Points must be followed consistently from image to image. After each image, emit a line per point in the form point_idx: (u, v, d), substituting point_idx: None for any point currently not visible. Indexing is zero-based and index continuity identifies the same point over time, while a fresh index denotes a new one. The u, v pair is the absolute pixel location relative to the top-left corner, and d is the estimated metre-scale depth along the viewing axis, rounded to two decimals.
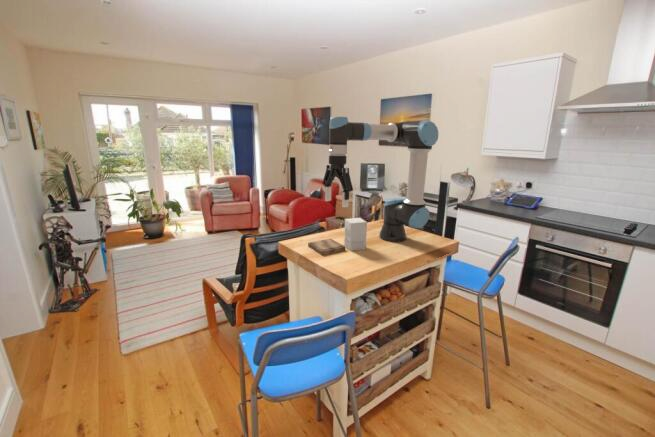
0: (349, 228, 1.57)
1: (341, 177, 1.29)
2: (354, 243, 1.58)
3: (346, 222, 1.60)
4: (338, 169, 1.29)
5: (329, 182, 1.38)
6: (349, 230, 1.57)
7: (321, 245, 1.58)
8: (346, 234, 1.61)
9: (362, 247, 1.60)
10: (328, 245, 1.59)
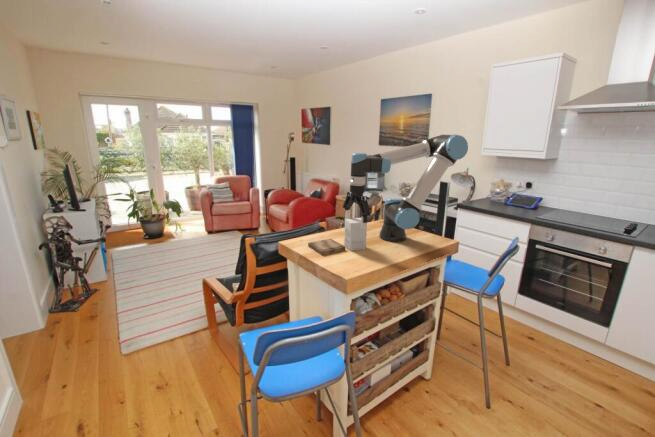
0: (349, 228, 1.57)
1: (360, 203, 1.53)
2: (354, 243, 1.58)
3: (346, 222, 1.60)
4: (358, 197, 1.53)
5: (349, 206, 1.62)
6: (349, 230, 1.57)
7: (321, 245, 1.58)
8: (346, 234, 1.61)
9: (362, 247, 1.60)
10: (328, 245, 1.59)
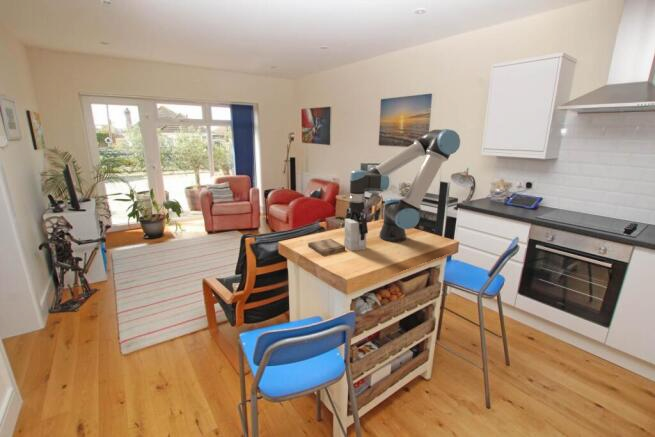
0: (349, 228, 1.57)
1: (359, 220, 1.56)
2: (354, 242, 1.58)
3: (346, 222, 1.60)
4: (357, 213, 1.56)
5: None
6: (349, 230, 1.57)
7: (321, 245, 1.58)
8: (346, 234, 1.61)
9: (362, 247, 1.60)
10: (328, 245, 1.59)
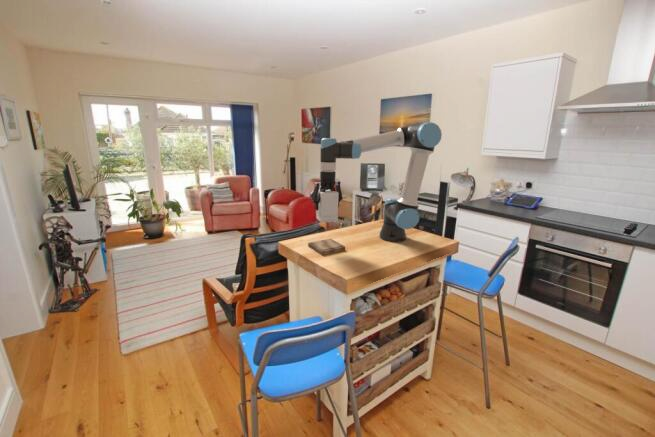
0: None
1: (320, 190, 1.51)
2: None
3: None
4: None
5: None
6: None
7: (321, 245, 1.58)
8: None
9: (320, 219, 1.53)
10: (328, 245, 1.59)
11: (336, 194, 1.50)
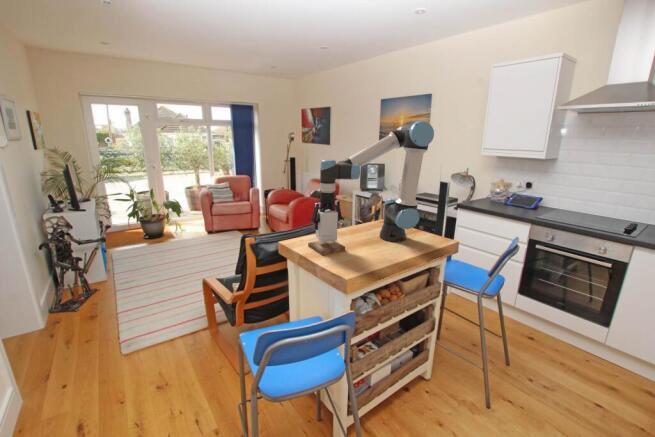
0: None
1: (320, 210, 1.54)
2: None
3: None
4: None
5: None
6: None
7: (321, 245, 1.58)
8: None
9: (319, 238, 1.56)
10: (328, 245, 1.59)
11: (336, 214, 1.53)
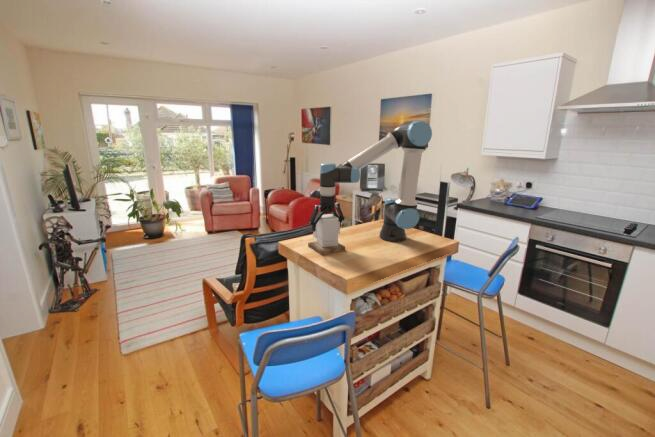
0: None
1: (319, 212, 1.54)
2: (317, 236, 1.60)
3: None
4: None
5: None
6: None
7: None
8: None
9: (320, 244, 1.57)
10: None
11: (337, 220, 1.54)
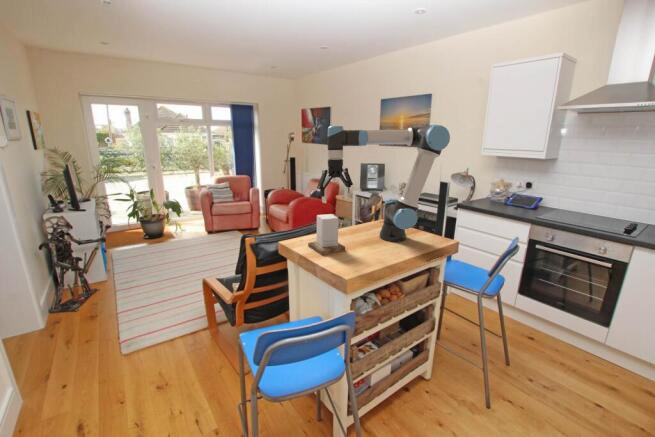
0: None
1: (327, 177, 1.52)
2: (317, 236, 1.60)
3: None
4: None
5: (344, 182, 1.58)
6: None
7: None
8: None
9: (320, 244, 1.57)
10: None
11: (337, 220, 1.54)
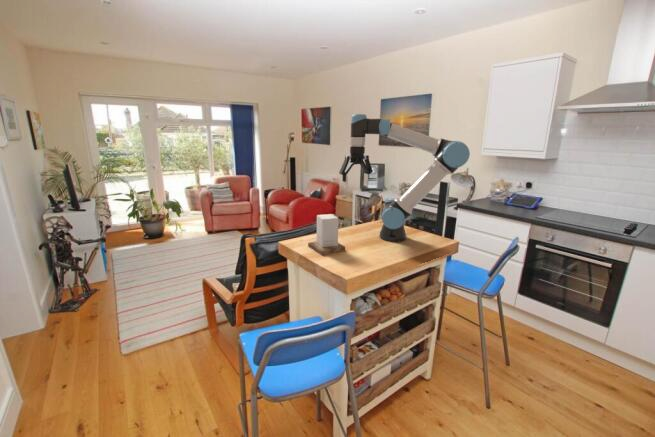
0: None
1: (349, 163, 1.59)
2: (317, 236, 1.60)
3: None
4: None
5: (364, 169, 1.65)
6: None
7: None
8: None
9: (320, 244, 1.57)
10: None
11: (337, 220, 1.54)
